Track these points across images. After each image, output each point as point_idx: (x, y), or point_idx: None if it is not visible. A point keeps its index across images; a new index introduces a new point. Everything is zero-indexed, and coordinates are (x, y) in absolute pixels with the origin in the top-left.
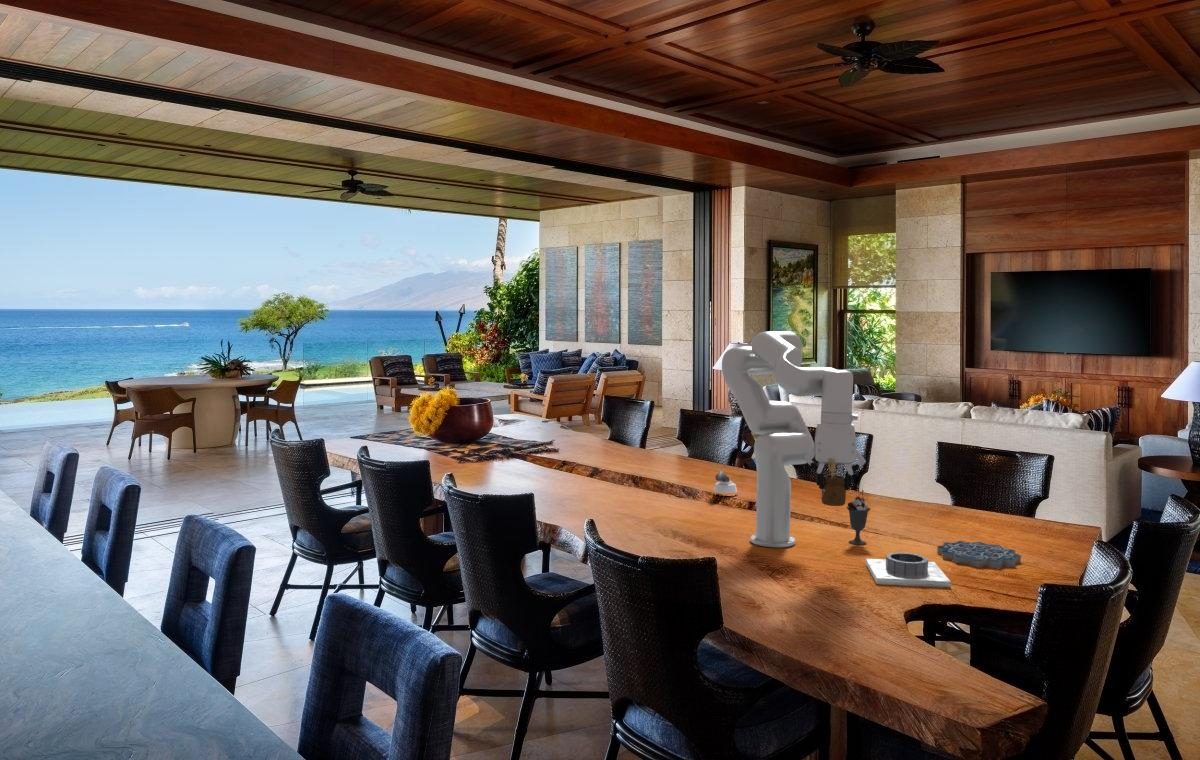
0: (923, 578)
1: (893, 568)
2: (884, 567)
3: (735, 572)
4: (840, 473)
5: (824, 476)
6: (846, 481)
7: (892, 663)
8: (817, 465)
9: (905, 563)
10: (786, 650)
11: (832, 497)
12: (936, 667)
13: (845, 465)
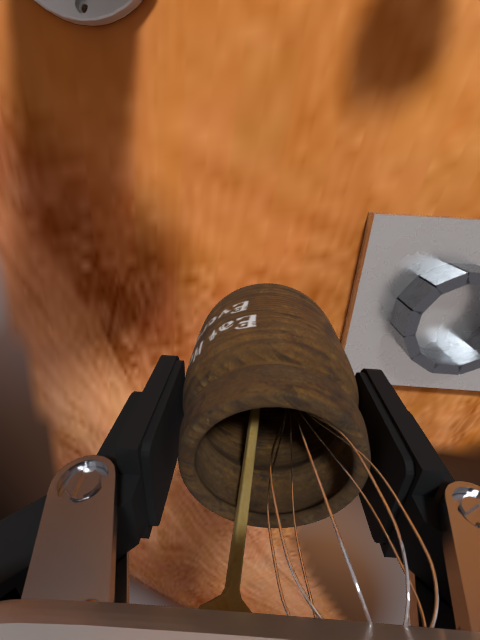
0: (447, 376)
1: (400, 345)
2: (392, 300)
3: (31, 323)
4: (351, 477)
5: (180, 459)
6: (360, 493)
7: (256, 599)
8: (43, 558)
9: (431, 370)
10: (150, 580)
11: (247, 421)
12: (299, 604)
13: (457, 612)
